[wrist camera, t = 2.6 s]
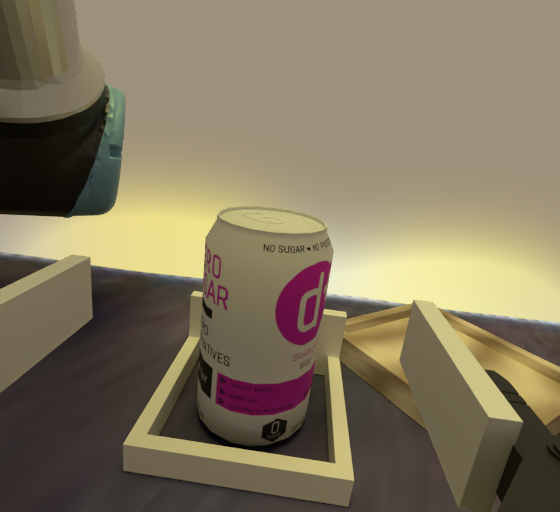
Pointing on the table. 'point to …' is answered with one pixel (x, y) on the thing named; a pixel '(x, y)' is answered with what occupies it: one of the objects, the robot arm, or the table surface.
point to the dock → (239, 462)
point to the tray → (483, 345)
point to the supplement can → (261, 321)
